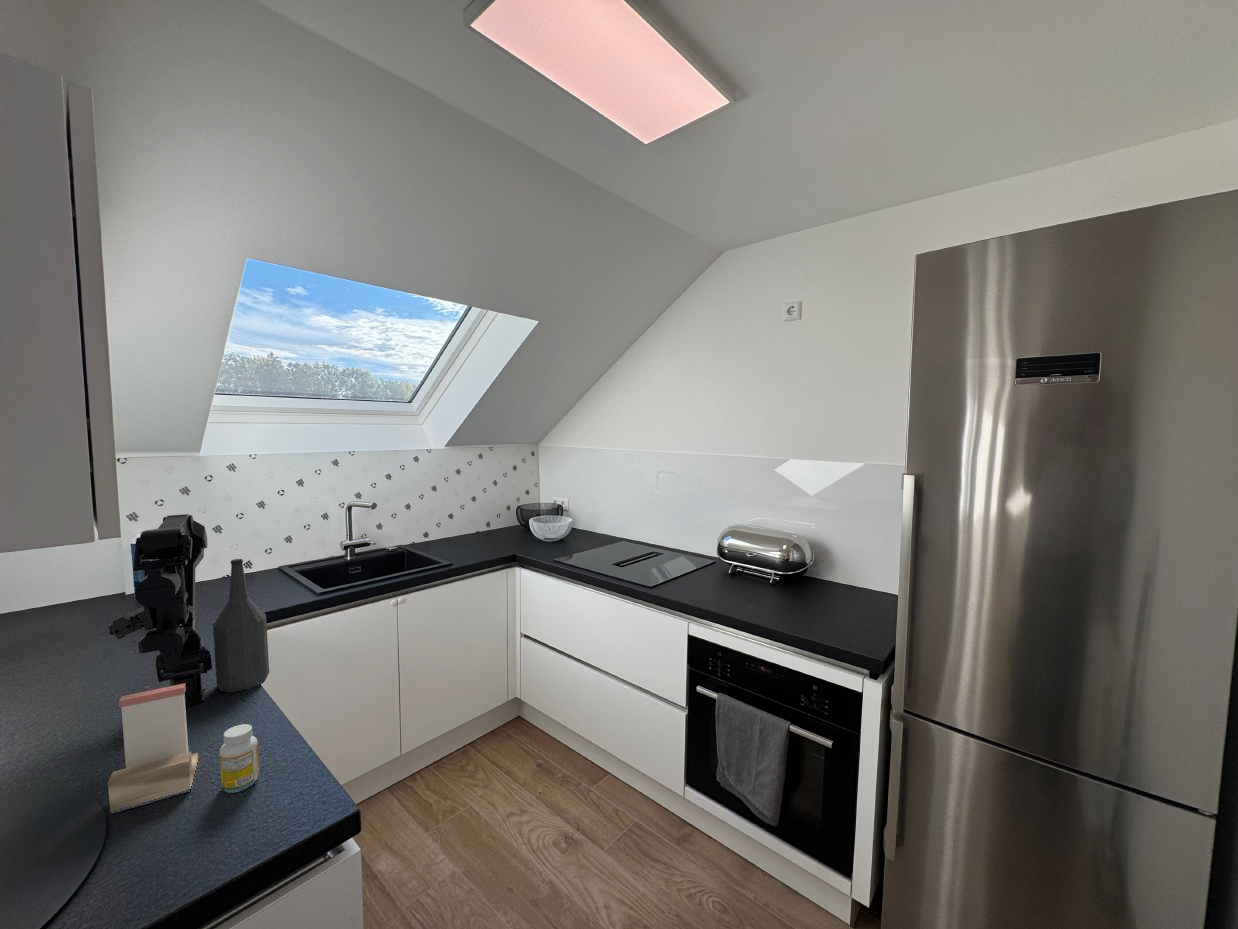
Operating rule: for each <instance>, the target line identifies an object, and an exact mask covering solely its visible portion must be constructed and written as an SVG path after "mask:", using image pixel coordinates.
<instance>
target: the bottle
mask: <svg viewBox="0 0 1238 929" xmlns="http://www.w3.org/2000/svg"><path fill="white" fill-rule="evenodd" d="M243 563H244V559H242V558H234V559H231V561H230V565H231V568H230V582H229V595H228V601H227V602H226V604H225V605H224V608H223V609H222V610H221V612H220V613H219V615H218V617H217V619H216V620H215V622H214V624H213V625H212V631H213V649H214V650H213V651H214V663H215V664H214V665H215V666H214V667H215V676H216V677H215V678H216V679H215V680H216V688H217V689H219V691H220V692H223V691H228V692H227V693H230V692H233V693H235V692H234V691H239V692H243V691H242V690H245V691H248V690H250V689H253V688H256V687H258V686H261V685H262V684H263V683H265V682H266V680H267V679H268V676H269V674H270V667H269V666H270V664H269V663H270V662H269V660H270V659H269V644H268V642H269V641H268V626H267V625H268V622H267V615H266V613H265V612H264V611H263V610H262V609H261V608H260V607H259V606H258V605H257V604H256V603H255V602H254V601H253V599H252V598H251V597H249V592H248V591H249V590H248V588H247V587H248V586H247V581H246V575H245V571H244V570H245V569H244V565H243ZM257 682H258V683H259V684H260V685H258V683H257Z"/></svg>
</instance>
